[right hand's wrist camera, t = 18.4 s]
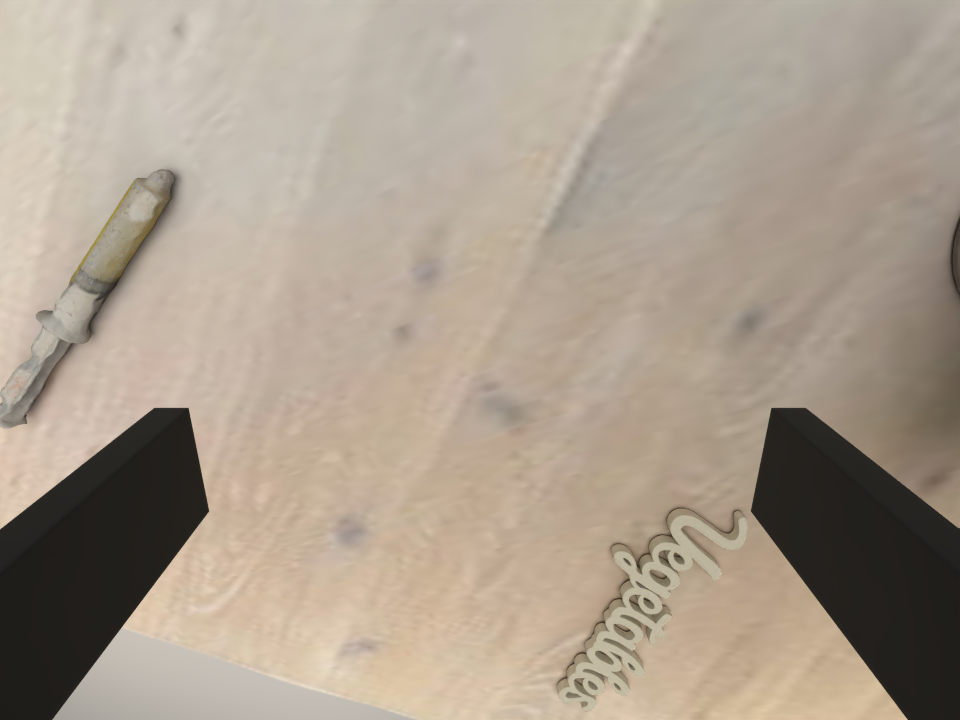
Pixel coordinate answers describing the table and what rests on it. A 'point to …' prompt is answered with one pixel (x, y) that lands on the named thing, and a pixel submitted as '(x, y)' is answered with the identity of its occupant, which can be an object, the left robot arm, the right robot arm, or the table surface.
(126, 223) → the syringe
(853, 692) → the table surface
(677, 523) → the decorative sign
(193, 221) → the table surface
